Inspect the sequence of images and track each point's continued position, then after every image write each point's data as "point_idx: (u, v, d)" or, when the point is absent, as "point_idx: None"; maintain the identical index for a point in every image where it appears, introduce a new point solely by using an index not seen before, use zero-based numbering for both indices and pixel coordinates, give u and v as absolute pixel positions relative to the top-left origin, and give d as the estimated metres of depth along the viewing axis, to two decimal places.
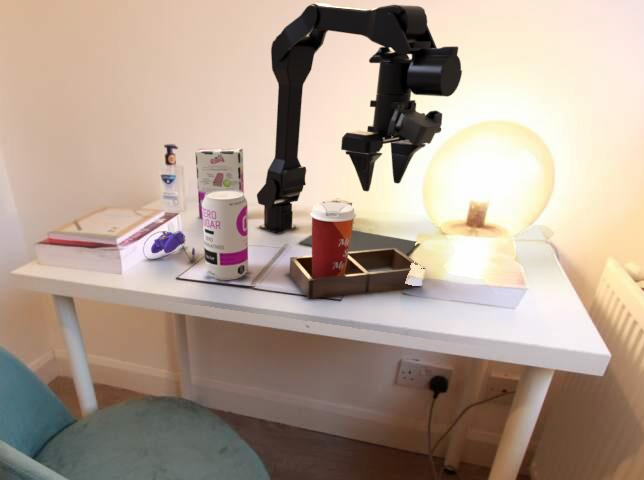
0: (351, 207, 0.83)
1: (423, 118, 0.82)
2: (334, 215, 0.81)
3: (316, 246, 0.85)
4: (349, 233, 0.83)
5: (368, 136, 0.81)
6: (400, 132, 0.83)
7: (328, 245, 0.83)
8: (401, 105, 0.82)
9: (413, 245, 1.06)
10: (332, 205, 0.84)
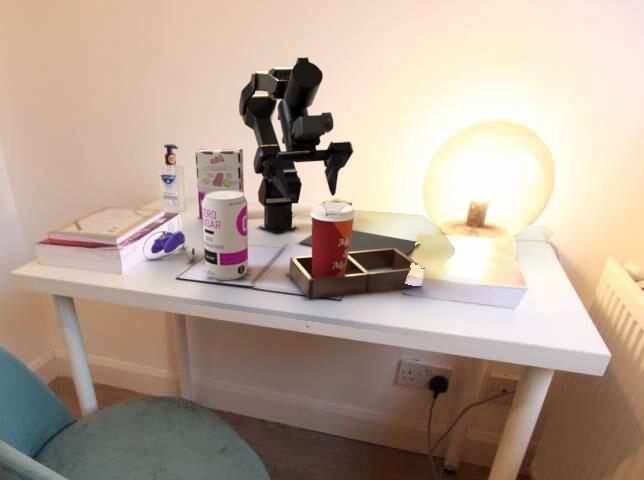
0: (351, 207, 0.83)
1: None
2: (334, 215, 0.81)
3: (316, 246, 0.85)
4: (349, 233, 0.83)
5: (260, 145, 0.92)
6: (294, 137, 0.92)
7: (328, 245, 0.83)
8: (292, 121, 0.94)
9: (413, 245, 1.06)
10: (332, 205, 0.84)
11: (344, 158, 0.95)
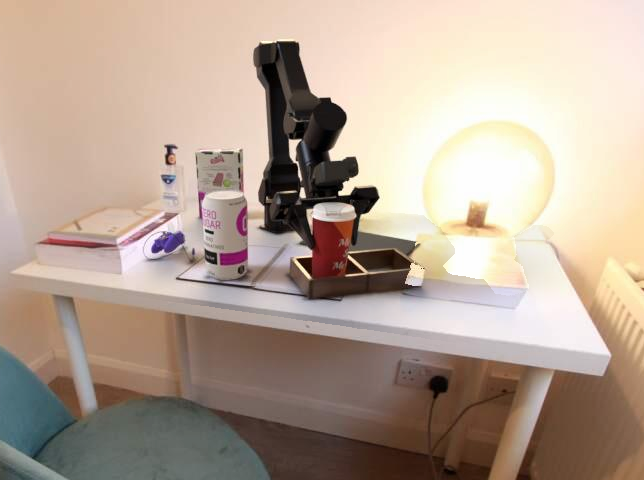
0: (351, 207, 0.83)
1: None
2: (334, 215, 0.81)
3: (317, 246, 0.85)
4: (349, 233, 0.83)
5: (277, 192, 0.84)
6: (315, 183, 0.83)
7: (328, 245, 0.83)
8: (312, 165, 0.85)
9: (413, 245, 1.06)
10: (333, 205, 0.84)
11: (366, 205, 0.86)
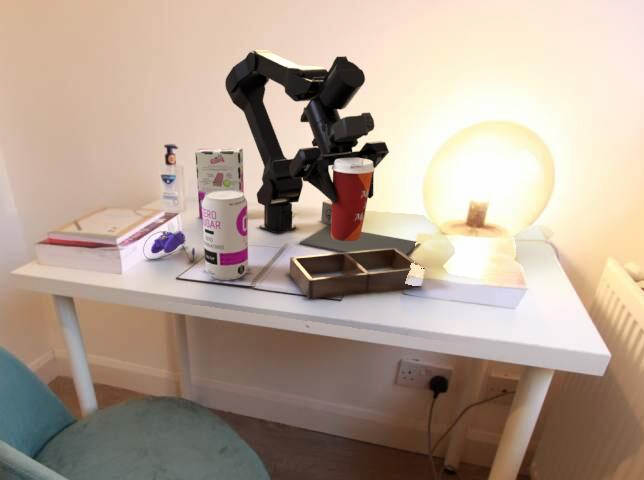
0: (369, 160, 0.89)
1: None
2: (358, 167, 0.86)
3: (339, 199, 0.90)
4: (369, 185, 0.89)
5: None
6: (335, 139, 0.88)
7: (352, 197, 0.89)
8: (328, 123, 0.90)
9: (413, 245, 1.06)
10: (351, 159, 0.90)
11: (377, 159, 0.93)
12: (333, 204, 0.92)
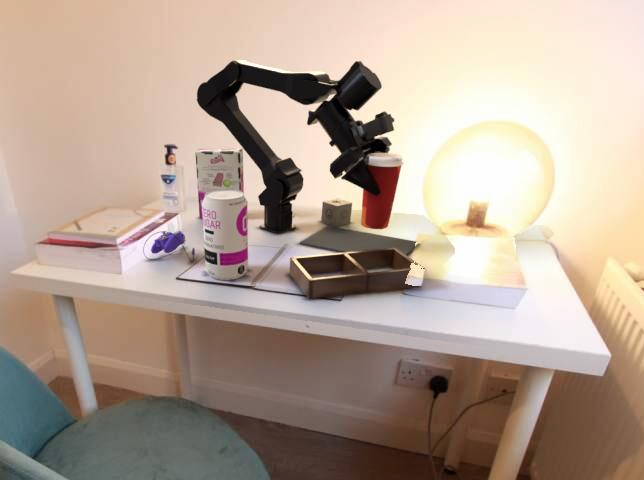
0: (393, 154, 0.99)
1: None
2: (397, 160, 0.95)
3: None
4: None
5: (348, 149, 0.92)
6: (367, 137, 0.95)
7: (391, 188, 0.98)
8: (353, 123, 0.96)
9: (413, 245, 1.06)
10: (379, 154, 0.98)
11: None
12: (370, 197, 0.99)
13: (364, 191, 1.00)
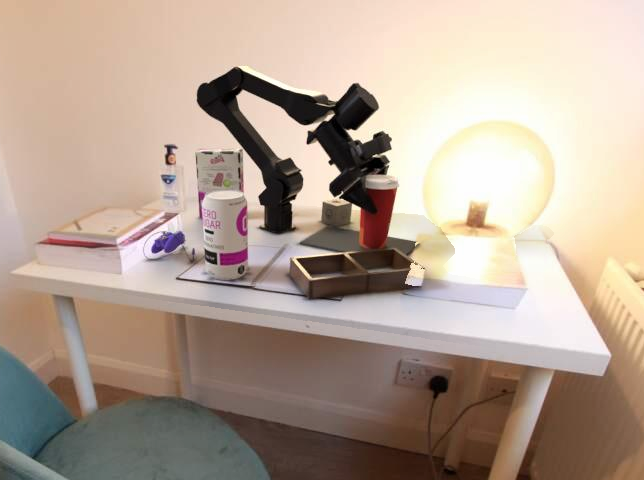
0: (389, 176, 1.01)
1: None
2: (393, 183, 0.98)
3: (377, 213, 1.00)
4: None
5: (346, 169, 0.94)
6: (365, 156, 0.97)
7: (387, 209, 1.00)
8: (351, 143, 0.98)
9: (413, 245, 1.06)
10: (375, 177, 1.00)
11: None
12: (367, 218, 1.01)
13: (361, 212, 1.03)
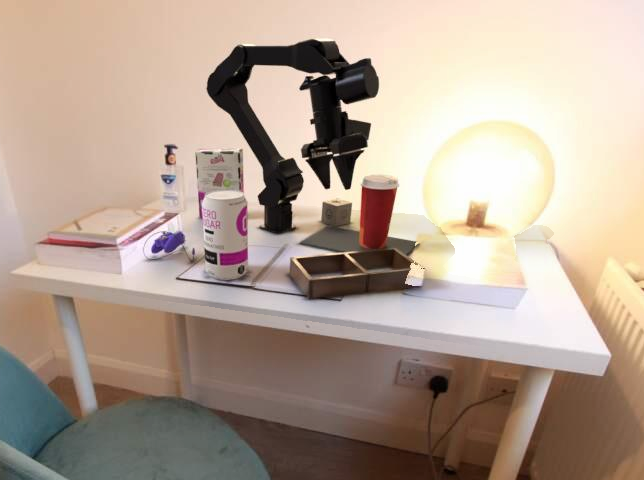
0: (389, 176, 1.01)
1: None
2: (393, 183, 0.98)
3: (377, 213, 1.00)
4: None
5: (363, 133, 0.93)
6: (354, 133, 0.99)
7: (387, 209, 1.00)
8: None
9: (413, 245, 1.06)
10: (375, 177, 1.00)
11: None
12: (367, 218, 1.01)
13: (361, 212, 1.03)
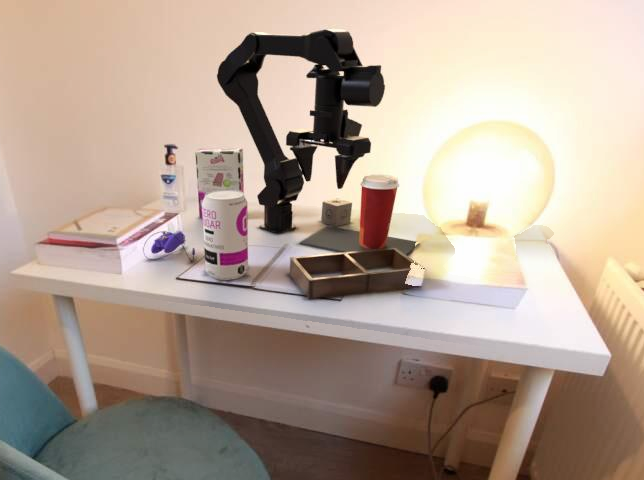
0: (389, 176, 1.01)
1: None
2: (393, 183, 0.98)
3: (377, 213, 1.00)
4: None
5: (368, 138, 0.96)
6: (349, 133, 1.01)
7: (387, 209, 1.00)
8: None
9: (413, 245, 1.06)
10: (375, 177, 1.00)
11: None
12: (367, 218, 1.01)
13: (361, 212, 1.03)
